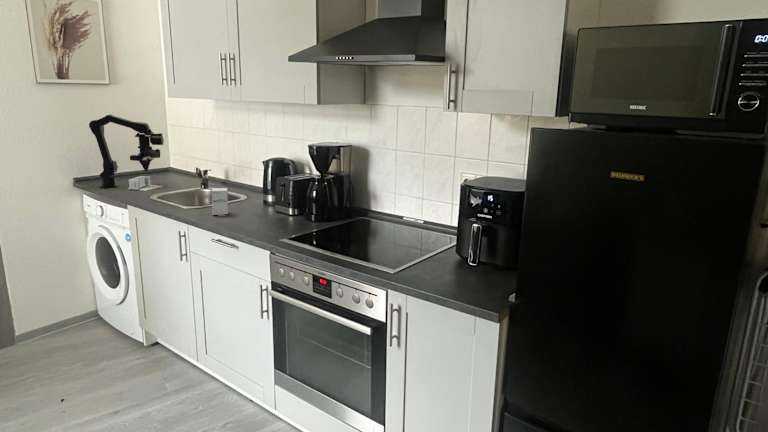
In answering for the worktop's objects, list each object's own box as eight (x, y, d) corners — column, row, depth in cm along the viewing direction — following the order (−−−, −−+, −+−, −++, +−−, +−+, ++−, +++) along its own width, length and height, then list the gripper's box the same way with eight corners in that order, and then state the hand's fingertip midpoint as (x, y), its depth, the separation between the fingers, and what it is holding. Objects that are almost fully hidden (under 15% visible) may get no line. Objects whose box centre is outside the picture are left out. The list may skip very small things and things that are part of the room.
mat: (128, 188, 304) (128, 188, 304) (146, 184, 318) (146, 184, 318) (144, 190, 301) (144, 190, 301) (162, 186, 315) (162, 186, 315)
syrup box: (137, 180, 300) (150, 176, 314) (127, 179, 300) (141, 175, 314) (138, 189, 301) (151, 185, 315) (128, 189, 302) (142, 184, 316)
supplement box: (212, 216, 251) (211, 190, 248) (212, 212, 258) (212, 187, 255) (228, 215, 253) (227, 190, 250) (228, 212, 260) (227, 187, 257)
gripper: (143, 147, 294) (145, 174, 297) (166, 144, 311) (168, 170, 315) (128, 145, 297) (130, 172, 301) (151, 143, 314) (153, 168, 318)
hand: (146, 170), depth 308 cm, fingers closed
